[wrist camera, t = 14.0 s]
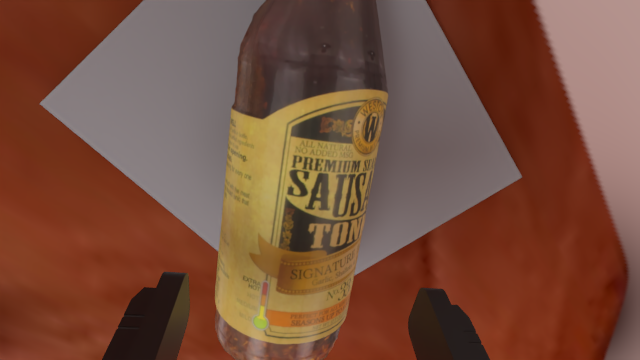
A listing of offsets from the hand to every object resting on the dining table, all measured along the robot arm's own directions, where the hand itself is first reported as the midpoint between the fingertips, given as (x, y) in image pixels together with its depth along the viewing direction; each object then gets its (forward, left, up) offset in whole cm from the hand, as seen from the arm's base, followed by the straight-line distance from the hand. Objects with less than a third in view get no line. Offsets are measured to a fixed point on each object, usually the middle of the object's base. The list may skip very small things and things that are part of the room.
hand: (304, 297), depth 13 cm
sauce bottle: (-4, -4, -3) cm, 7 cm away
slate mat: (+1, +1, -11) cm, 11 cm away
